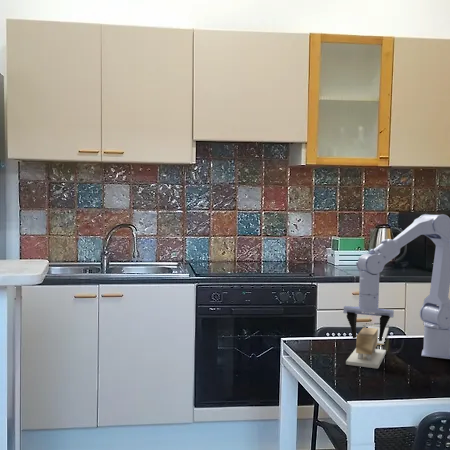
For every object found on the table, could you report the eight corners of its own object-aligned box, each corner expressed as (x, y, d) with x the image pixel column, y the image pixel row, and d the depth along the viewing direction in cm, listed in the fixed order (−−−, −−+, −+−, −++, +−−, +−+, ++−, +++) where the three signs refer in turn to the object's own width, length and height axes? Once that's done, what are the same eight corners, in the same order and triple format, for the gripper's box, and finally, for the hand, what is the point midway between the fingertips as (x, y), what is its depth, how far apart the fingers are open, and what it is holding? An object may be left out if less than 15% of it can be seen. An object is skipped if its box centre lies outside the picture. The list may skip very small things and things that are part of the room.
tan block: (377, 344, 176) (377, 328, 176) (371, 354, 163) (372, 337, 163) (362, 343, 178) (363, 327, 177) (356, 352, 165) (356, 335, 164)
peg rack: (385, 353, 178) (386, 343, 178) (378, 368, 159) (378, 357, 159) (356, 349, 181) (357, 340, 181) (345, 364, 163) (346, 354, 163)
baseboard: (352, 345, 191) (383, 348, 188) (353, 336, 191) (383, 339, 188) (361, 328, 219) (388, 331, 216) (362, 321, 219) (389, 324, 216)
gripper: (342, 293, 169) (340, 338, 169) (392, 297, 164) (391, 344, 164) (346, 290, 176) (344, 334, 176) (395, 294, 170) (393, 339, 170)
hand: (367, 339), depth 170 cm, fingers open, 7 cm apart
